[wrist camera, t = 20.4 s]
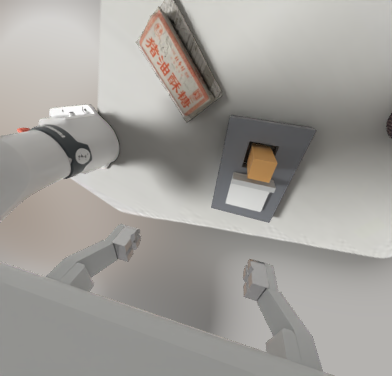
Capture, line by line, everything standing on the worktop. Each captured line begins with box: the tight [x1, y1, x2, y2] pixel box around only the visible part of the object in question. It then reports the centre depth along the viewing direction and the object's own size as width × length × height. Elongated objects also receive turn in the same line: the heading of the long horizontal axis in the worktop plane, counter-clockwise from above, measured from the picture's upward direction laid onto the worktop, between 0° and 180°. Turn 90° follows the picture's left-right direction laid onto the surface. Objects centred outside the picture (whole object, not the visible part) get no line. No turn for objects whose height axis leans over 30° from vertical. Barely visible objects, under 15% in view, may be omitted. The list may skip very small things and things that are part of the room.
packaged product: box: [136, 0, 222, 122], centre depth 31 cm, size 18×5×10 cm
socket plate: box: [211, 115, 316, 223], centre depth 38 cm, size 16×24×3 cm, turn 174°
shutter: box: [226, 172, 276, 212], centre depth 37 cm, size 9×9×4 cm
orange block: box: [247, 143, 277, 183], centre depth 32 cm, size 4×4×10 cm
